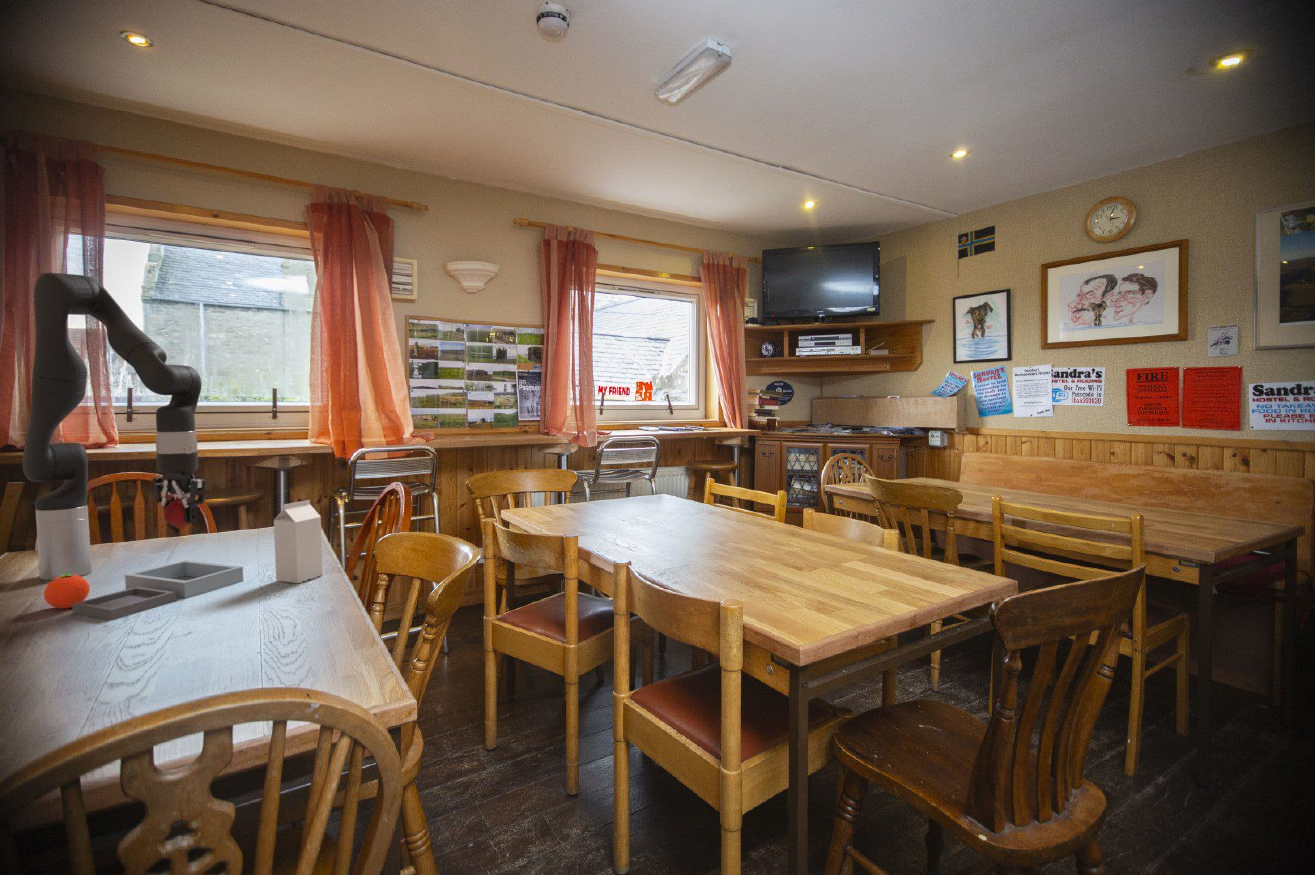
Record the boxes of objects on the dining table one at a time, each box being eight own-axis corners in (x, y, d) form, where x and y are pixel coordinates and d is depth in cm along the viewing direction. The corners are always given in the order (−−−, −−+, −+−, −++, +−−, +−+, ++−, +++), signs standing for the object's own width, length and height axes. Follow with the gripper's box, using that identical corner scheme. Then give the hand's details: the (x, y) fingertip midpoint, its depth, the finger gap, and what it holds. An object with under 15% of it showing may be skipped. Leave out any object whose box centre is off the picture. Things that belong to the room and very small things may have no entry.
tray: (72, 613, 124) (72, 603, 124) (138, 595, 135) (137, 586, 135) (111, 620, 120) (111, 610, 120) (175, 600, 132) (175, 591, 132)
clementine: (44, 606, 128) (41, 573, 128) (88, 598, 133) (86, 567, 133) (45, 615, 123) (43, 581, 122) (92, 607, 128) (90, 574, 127)
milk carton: (323, 576, 150) (320, 500, 149) (297, 584, 144) (294, 505, 142) (301, 573, 153) (298, 499, 151) (275, 581, 146) (272, 503, 145)
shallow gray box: (125, 589, 139) (124, 575, 139) (186, 573, 152) (185, 560, 152) (185, 598, 133) (184, 582, 133) (243, 581, 146) (242, 566, 146)
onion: (202, 526, 144) (201, 493, 143) (181, 531, 138) (179, 497, 138) (180, 525, 145) (178, 492, 144) (158, 531, 139) (156, 496, 138)
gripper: (137, 451, 139) (141, 523, 140) (182, 453, 134) (186, 527, 136) (172, 448, 146) (175, 517, 147) (215, 450, 142) (219, 521, 143)
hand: (180, 521), depth 141 cm, fingers closed on onion, 6 cm apart
